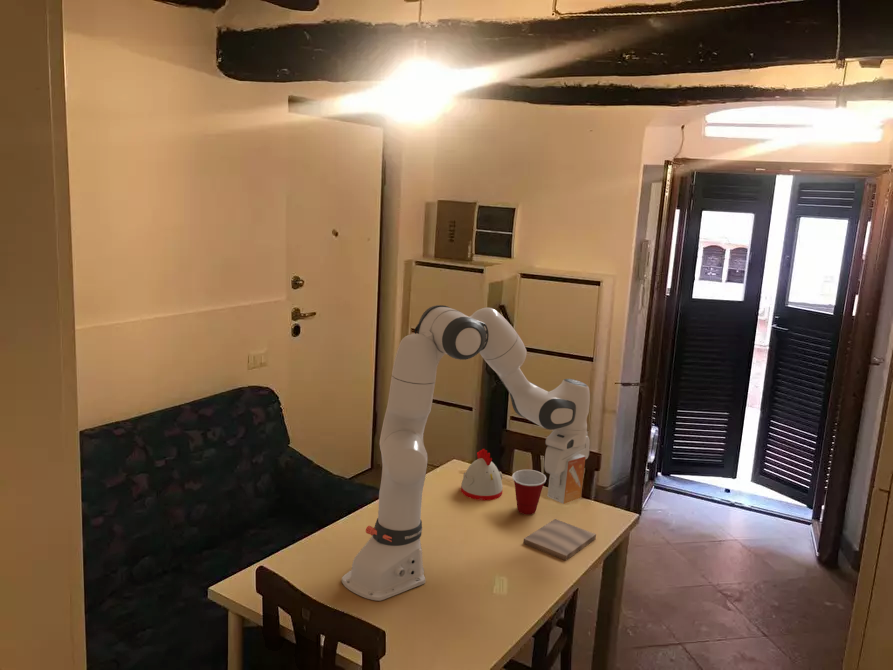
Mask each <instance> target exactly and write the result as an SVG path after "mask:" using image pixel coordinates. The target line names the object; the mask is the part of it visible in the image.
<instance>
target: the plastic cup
mask: <svg viewBox="0 0 893 670" xmlns="http://www.w3.org/2000/svg"><path fill="white" fill-rule="evenodd" d="M511 477H512V481H513V483H514V489H515V490H514V491H515V499H516V500H515V501H516V508H517V512H519V514H522V515H528V516H529V515H530V516H531V515H534V514H535V513H536V512H537V508H538V505H539V503H540V502H539V501H540V498H541V495H542V491H543V487H544V485H545V483H546V480H547V476H546V474H544V473H542V472H540V471H538V470H534V469H520V470H516V471H514V473H513V474H512V475H511Z"/></svg>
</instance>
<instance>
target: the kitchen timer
mask: <svg viewBox="0 0 893 670" xmlns="http://www.w3.org/2000/svg"><path fill="white" fill-rule="evenodd" d="M476 457H477V459H475V460H473V462H472V463H471V464H470V465H469V466H468V467H467V468H466V471H465V472H463V476H462V477H463V478H462V480H461V485H460V492H461V493H462V495H464V497H467V498H469V499H472V500H476V501H493V500H496V499H499V498H500V497H502V495H503V481H502V480H503V473H502V471H500V470H499V469H498V467H497V465H496V464H495V463H494V462H493V461H492V460H493V458H492V457H491V453H490V452H488V450H486V449H485V448H482V449H481V450H479V451H478V452H476Z"/></svg>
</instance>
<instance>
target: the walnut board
mask: <svg viewBox="0 0 893 670" xmlns="http://www.w3.org/2000/svg"><path fill="white" fill-rule="evenodd" d="M596 538H597V533H594V532H592V531H588V530H586V529H583V528H581V527H578V526H575V525H572V524H570V523H566V522H564V521H561V520H559V519H557V518H554V519H553V520H551V521H549V522H548V523H546V524H545V525H543V526H542V527H540V528H538V529H536V530H535V531H534V532H532V533H530V534H529V535H527V536H525V537H524V538H523V544H524V545H527V546H529V547H532V548H533V549H536V550H538V551H541V552H544V553H546V554H548V555H551V556H553V557H556V558H558V559H561V560H563V561H567V560H569V559H570V558H571V557H573V556H574V555H576V554H577V553H579V552H580V551H582V550H583V549H584V548H585V547H587V546H588V545H590V544H591V543H592V542H594V541H595V540H596Z"/></svg>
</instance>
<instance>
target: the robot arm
mask: <svg viewBox="0 0 893 670" xmlns="http://www.w3.org/2000/svg"><path fill="white" fill-rule="evenodd" d="M527 352H528V351H527V348H526V346H525V343H524V342H523V340H522V338H521V336H520V335H519V334H518V332H517V331H516V330H515V328H514V327H513V326H512V324H510V322H509V321H508V319H506V318H505V317H504V316H503V315H502V314H501V313H500V312H499V311H498V310H496V309H494V308H493V307H483V308H479V309H478V310H476V311H474V312H473V313H472V314H471V315H469V316H468V315H467V314H465V313H463V312H462V311H460V310H457V309H455V308H451V307H449V306H447V305H442V304H441V305H439V304H437V305H433V306H429V308H427V309H425V311H424V312H423V313H422V315H421V316H420V319H419V321H418V324H417V325H416V326H415V328H414V333H411V334H408V335H406V336H404V337H403V338H402V339H401V340H400V342H399V345H398V348H397V350H396V354H395V358H394V361H393V366H392V371H391V378H390V385H389V391H388V398H387V405H386V409H385V413H384V417H383V422H382V427H381V432H380V438H379V448H380V452H381V462H382V470H381V479H380V480H381V481H380V486H379V491H378V511H377V513H378V515H377V518H376V521H375V523H374V526H371V525H368V526H366V528H365V533H366V534H367V535H370V536H371V537H370V538H369V539H368V541H367V542H366V543H365V545H364V546H363V547H362V548H361V549H360V550H359V552H358V553H357V554H356V555H355V557H354V558H353V560H352V565H351V570H349V571H348V572H347V573H345V574H344V575H343V576H342V577H341V583H342V584H343V586H344V587H345V588H346V589H347V590H349V591H350V592H352V593H354V594H356V595H357V596H360V597H362V598H365V599H368V600H372V601H377V602H378V601H379V602H381V601H384V600H386V599H389V598H391V597H394V596H396V595H399V594H401V593H404V592H406V591H408V590H409V591H410V590H412V589H414V588H416V587H419V586H422V585H424V584H426V577H425V575H424V572H425V569H424V562H423V549H422V544H421V536H422V533H423V532H422V531H423V524H422V523H423V521H422V519H421V517H422V503H423V501H422V500H423V491H424V485H425V481H426V476H427V468H428V452H427V450H426V447H425V444H424V433H425V427H426V424H427V421H428V418H429V415H430V413H431V411H432V405H433V399H434V392H435V386H436V379H437V371H438V366H439V363H440V361H441V360H442V358H443V357H444V356H445V355H447V356H449V357H450V358H453V359H455V360H459V361H461V360H465V361H466V360H470V359H472V358H473V357H475V356H477V355H480V356H481V357H482V359H483V360H484V361H485V363H487V365H488V366H489V367H490V368H491V369H492V370H493V371H494V372H495V373H496V375H497V377H498V378H499V380H500V381H501V383H502V384H503V386H504V387H505V389H506V390H507V392H508V394H509V397H510V401H511V406H512V409H513V411H514V412H515V414H516V415H518V416H520V417H521V418H524V419H526V420H528V421H529V422H532V423H533V424H536V425H537V426H539V427H541V428H543V429H546V430H549V431H550V430H551V431H552V432H551V433H550V434H549V435H548V436H547V437H546V438H545V445H546V446H547V447H546V449H545V455H544V467H543V468H544V471H545V472H546V473H547V474H549V475H550V474H552V476H553V479H554V481H553V485H554V486H557V487H558V486H560V485H561V481H562V480H561V479H560V475H561V472H563V471H565V469H566V462H567V460H569V459H570V458H572V457H574V456H577V455H579V454H581V455H584V456H586V458H585V461H586V460H587V459H588V458H589V456H590V446H591V445H590V443H591V441H590V437H589V435H588V433H589V432H588V423H587V422H588V421H587V420H588V419H587V418H588V416H589V412H590V406H591V405H590V403H591V402H590V401H591V392H590V387H589V386H588V384H586V383H584V382H582V381H580V380H576V379H573V378H565V379H563V380H562V381H561V383H560V384H559V385H558V386H556V387H555V388H554V389H552V390H550V391H548V390H546V389H544V388H542V387H540V386H539V385H537V384H535V383H532V382H531V381H529V380H528V379H527V377H526V376H525V374H524V373H523V371H522V369H521V367H522V366H523V364H524V363H525V360H526V358H527Z"/></svg>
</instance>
